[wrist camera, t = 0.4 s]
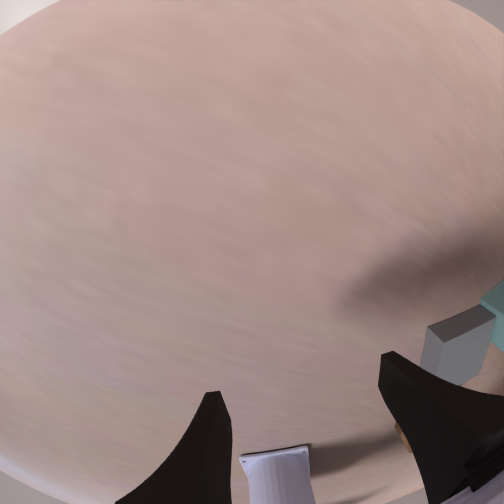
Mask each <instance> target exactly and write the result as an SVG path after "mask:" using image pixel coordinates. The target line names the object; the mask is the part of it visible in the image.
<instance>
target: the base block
mask: <svg viewBox="0 0 504 504" xmlns="http://www.w3.org/2000/svg"><path fill="white" fill-rule="evenodd" d="M495 321H496V316H495V315H493V314H492V313H491V312H489V311H488V310H486V309H485V308H483V307H482V306H481V305H479V306H476V307H474V308H472V309H470V310H468V311H465V312H463V313H461V314H458V315H456V316H454V317H451V318H449V319H447V320H444V321H442V322H439V323H437V324H434V325H431V326H429V327H427V334H426V340H425V345H424V350H423V355H422V360H421V365H420V367H421V368H422V369H424V370H426V371H428V372H430V373H431V374H433V375H435V376H437V377H439V378H441V379H444V380H446V381H448V382H450V383H453V384H455V385H458V386H459V385H461V384H462V383H464V382H466V381H468V380H469V379H471V378H473V377H475V376H476V375H478V374H479V372H480V369H481V367H482V364H483V361H484V358H485V355H486V352H487V349H488V346H489V342H490V339H491V336H492V332H493V328H494V325H495Z"/></svg>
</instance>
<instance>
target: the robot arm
mask: <svg viewBox="0 0 504 504" xmlns="http://www.w3.org/2000/svg"><path fill="white" fill-rule="evenodd" d="M378 387H379V390H380V392H381V395H382V397H383V399H384V401H385V404H386V405H387V407H388V409H389V410H390V412H391V414H392V415H393V417H394V419H395V420H396V422H397V423H398V425H399V427H400V428H401V430H402V432H403V433H404V435H405V437H406V439H407V441H408V443H409V445H410V447H411V450H412V452H413V454H414V457H415V459H416V462H417V465H418V468H419V470H420V473H421V477H422V480H423V483H424V486H425V490H426V494H427V499H428V503H429V504H504V396H500V395H493V394H487V393H482V392H478V391H474V390H470V389H467V388H464V387H461V386H458V385H455V384H453V383H450V382H448V381H446V380H444V379H441V378H439V377H437V376H435V375H433V374H431V373H430V372H428V371H426V370H424V369H422V368H421V367H419V366H417V365H416V364H414V363H412V362H411V361H409V360H407V359H406V358H404V357H403V356H401V355H399V354H398V353H396V352H394V351H391V352H388V353H385V354H382V355H381V363H380V373H379V381H378ZM231 458H232V426H231V418H230V416H229V413H228V411H227V408H226V405H225V403H224V400H223V398H222V395H221V392H220V391H214V392H206V393H205V395H204V397H203V399H202V401H201V404H200V406H199V408H198V410H197V412H196V414H195V416H194V418H193V420H192V421H191V423H190V425H189V427H188V429H187V430H186V432H185V433H184V435H183V437H182V438H181V440H180V441H179V443H178V444H177V446H176V447H175V448H174V450H173V451H172V452H171V454H170V455H169V456H168V457H167V459H166V460H165V461H164V462H163V463H162V464H161V465H160V467H159V468H158V469H157V470H156V471H155V472H154V473H153V474H152V475H151V476H150V477H149V478H147V479H146V480H145V481H144V482H143V483H142V484H140V485H139V486H138V487H137V488H136V489H134V490H133V491H131V492H130V493H128V494H127V495H126V496H124V497H123V498H121V499H119V500H118V501H116V502H115V504H232V501H231V488H230V476H231ZM239 460H240V462H241V465H242V467H243V469H244V471H245V473H246V475H247V477H248V480H249V495H250V504H316V503H315V499H314V494H313V490H312V486H311V481H310V465H309V451H308V446H300V447H295V448H290V449H284V450H279V451H272V452H266V453H259V454H251V455H243V456H240V457H239Z"/></svg>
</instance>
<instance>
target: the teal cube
mask: <svg viewBox="0 0 504 504" xmlns="http://www.w3.org/2000/svg"><path fill="white" fill-rule="evenodd" d="M480 305H481V306H482V307H483V308H485V309H486V310H488V311H489V312H491V313H492V314H493V315H495V316H496V321H495V325H494V328H493V332H492V336H491V339H490V341H491V342H492V343H493V344H495V345H496V346H497V347H498V348H499V349H500V350H501V351H503V352H504V279H503V280H502V281H501V282H500V283H499V284H497V285H496V286H495V287H494V288H493V289H492V290H490V291H489V292H488V293H487V294H486V295H484V296H483V297H482V298H481V299H480Z"/></svg>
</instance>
